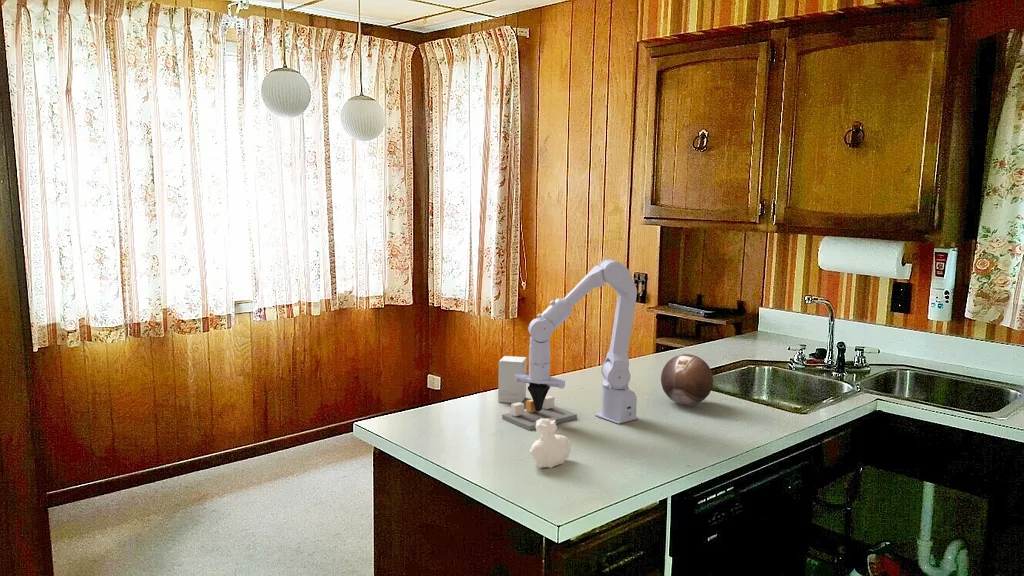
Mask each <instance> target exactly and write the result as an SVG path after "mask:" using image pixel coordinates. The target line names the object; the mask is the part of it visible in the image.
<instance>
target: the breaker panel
mask: <svg viewBox="0 0 1024 576" xmlns="http://www.w3.org/2000/svg"><path fill="white" fill-rule="evenodd" d="M541 418H543V419H548V418H549V420H551V421H553V420H556V422H555V423H556V425H557V424H560V423H565V422H568V421H573V420H576V419H578V414H577V413H575V412H572V411H570V410H566V409H563V408H561V407H559V406H555V397H554V396H552V395H546V397H545V400H544V403H543V407H542V410H541V411H536V412H531V413H530V412H528V411H526V408H525V403H523V402H522V403H521V402H518V403H510V412H508V413H503V414H502V415H501V419H502V420H504V421H507V422H508V421H509V423H511V424H514V425H516V426H518V427H520V428H523V429H525V430H528V431H532V430H536V428H535V427H536V421H537V420H539V419H541Z"/></svg>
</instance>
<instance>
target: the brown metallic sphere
mask: <svg viewBox="0 0 1024 576" xmlns="http://www.w3.org/2000/svg"><path fill="white" fill-rule="evenodd" d="M660 383H661V387H662V390H663V392H664V393H665V395H666V396H667V398H669V399H670V400H671V401H673V402H674V403H676V404H679V405H681V406H682V405H683V406H694V405H697V404H700V403H701V402H703V401H705V399H706V398H708V397H709V395H710V393H711V391H712V389H713V386H714V375H713V372H712V370H711V367H710V365H708V363H707V362H706V361H705V360H703V359H702V358H701V357H700V356H697V355H695V354H687V353H685V354H678V355H675V356H674V357H672V358H671V359H669V360H668V361H667V362H666V363H665V365H664V366H663V368H662V371H661V375H660Z"/></svg>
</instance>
